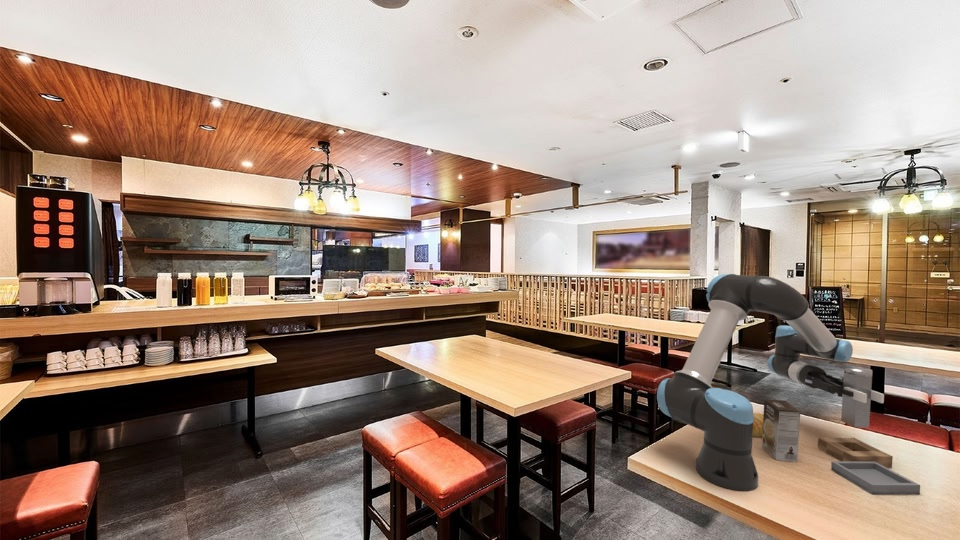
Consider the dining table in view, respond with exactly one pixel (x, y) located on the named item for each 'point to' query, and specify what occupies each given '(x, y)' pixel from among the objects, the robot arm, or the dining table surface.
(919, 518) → the dining table surface
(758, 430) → the croissant
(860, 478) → the tray
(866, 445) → the block
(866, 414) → the pin
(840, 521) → the dining table surface
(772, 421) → the coffee box
